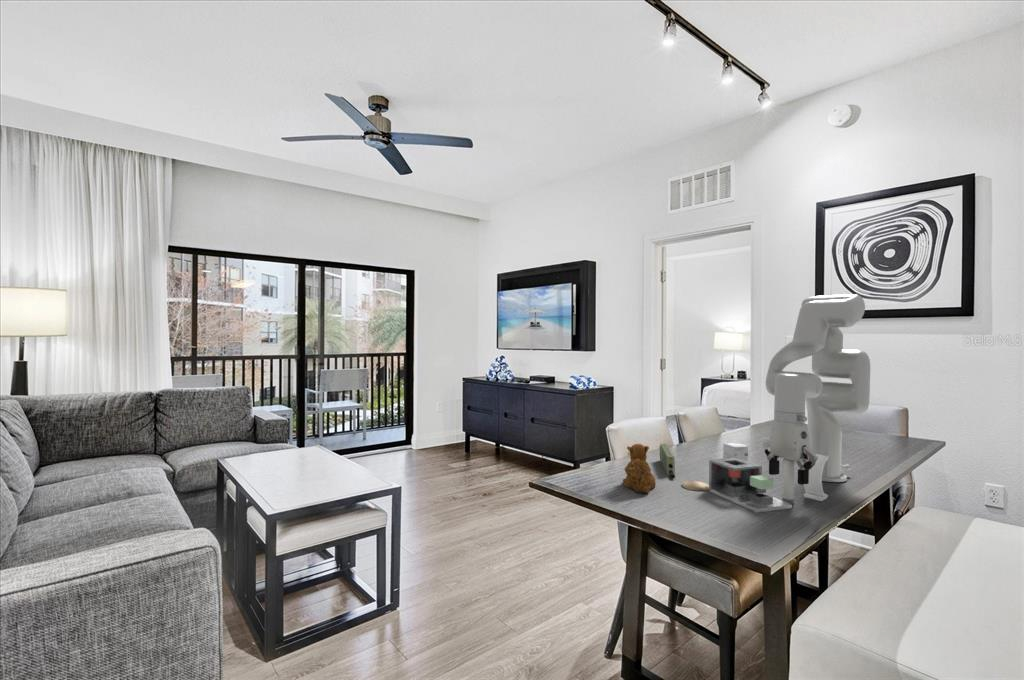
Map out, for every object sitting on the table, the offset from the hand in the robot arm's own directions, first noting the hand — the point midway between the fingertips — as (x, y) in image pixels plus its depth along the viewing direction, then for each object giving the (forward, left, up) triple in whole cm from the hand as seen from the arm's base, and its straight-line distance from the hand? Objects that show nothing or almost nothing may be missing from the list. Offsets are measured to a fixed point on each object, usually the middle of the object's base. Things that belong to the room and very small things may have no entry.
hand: (788, 479), depth 137 cm
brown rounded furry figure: (+33, -22, -7) cm, 41 cm away
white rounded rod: (0, 0, -7) cm, 7 cm away
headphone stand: (-11, -1, -7) cm, 13 cm away
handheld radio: (+12, -38, -7) cm, 41 cm away
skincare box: (-15, -37, -7) cm, 41 cm away
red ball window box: (+9, -6, -7) cm, 13 cm away
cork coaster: (+16, -19, -7) cm, 26 cm away
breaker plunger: (+9, -11, -3) cm, 14 cm away
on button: (+9, -1, -3) cm, 9 cm away
